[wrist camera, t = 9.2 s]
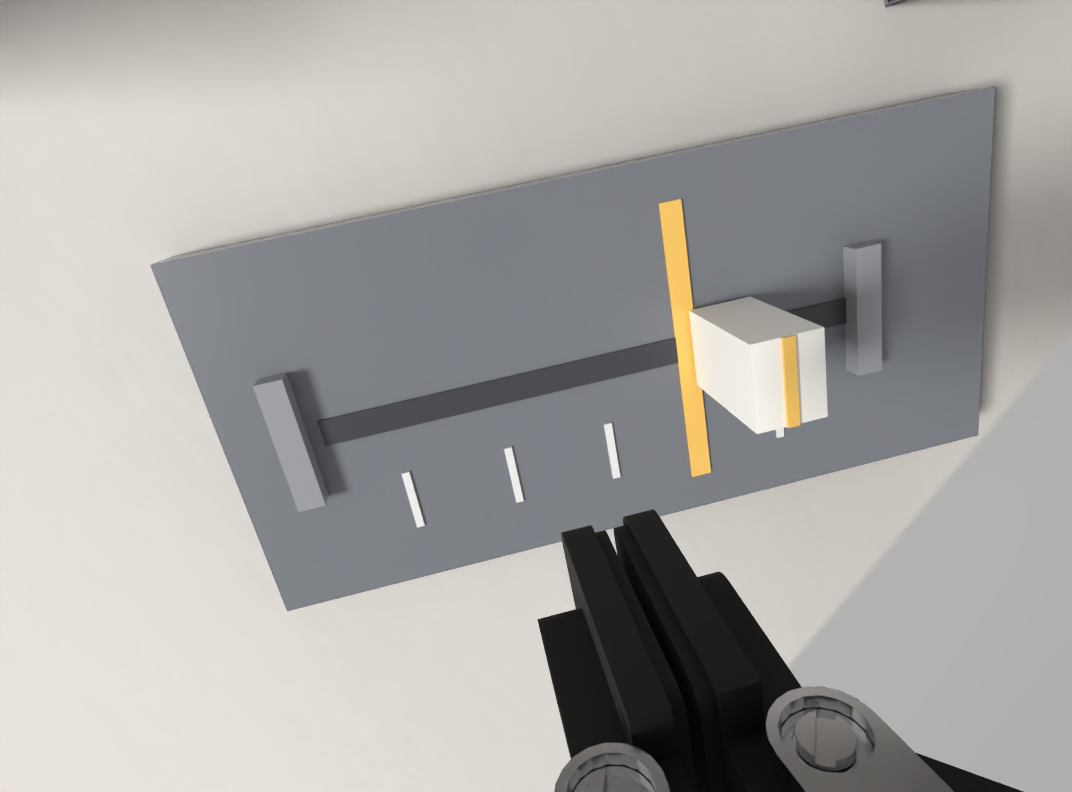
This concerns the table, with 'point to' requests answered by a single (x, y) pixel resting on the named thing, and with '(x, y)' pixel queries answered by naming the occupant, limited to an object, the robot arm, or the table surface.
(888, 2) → the mini dv tape
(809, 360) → the fader
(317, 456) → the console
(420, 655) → the table surface
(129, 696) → the table surface
